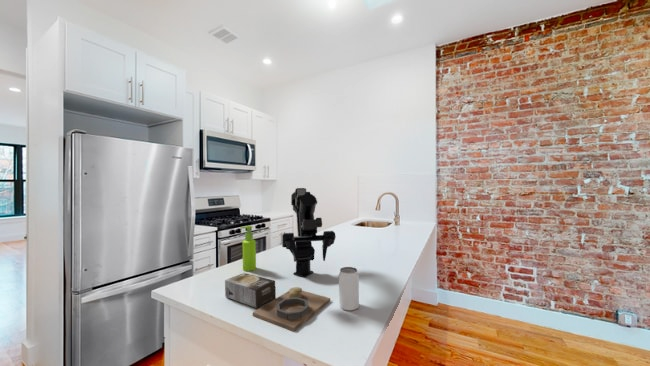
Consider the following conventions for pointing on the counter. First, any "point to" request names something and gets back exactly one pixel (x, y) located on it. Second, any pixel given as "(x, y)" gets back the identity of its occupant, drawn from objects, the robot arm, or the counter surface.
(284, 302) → the carrier board
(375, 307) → the counter surface
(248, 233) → the soap dispenser
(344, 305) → the can
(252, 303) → the coffee box
